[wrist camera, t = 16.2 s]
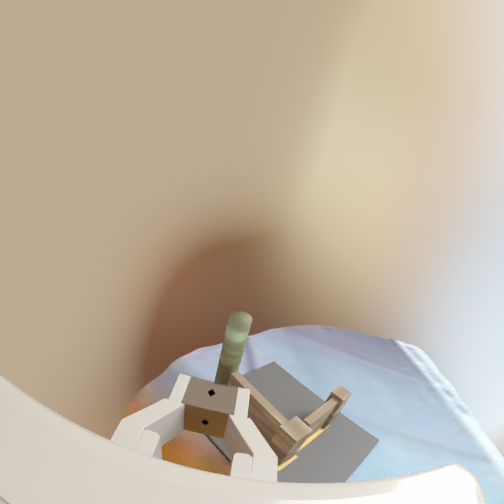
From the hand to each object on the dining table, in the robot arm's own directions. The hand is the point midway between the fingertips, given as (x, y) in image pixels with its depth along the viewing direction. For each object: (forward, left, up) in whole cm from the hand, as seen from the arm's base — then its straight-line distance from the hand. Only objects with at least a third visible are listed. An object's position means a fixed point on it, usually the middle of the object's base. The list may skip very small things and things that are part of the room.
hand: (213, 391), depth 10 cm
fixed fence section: (+1, -23, -25) cm, 35 cm away
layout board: (+4, -21, -26) cm, 33 cm away
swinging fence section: (+8, -17, -25) cm, 31 cm away
